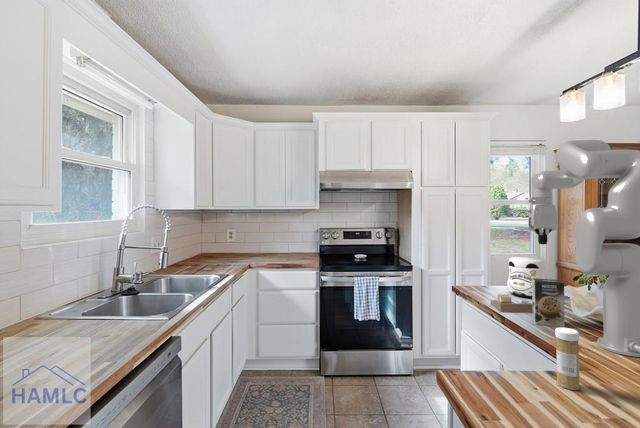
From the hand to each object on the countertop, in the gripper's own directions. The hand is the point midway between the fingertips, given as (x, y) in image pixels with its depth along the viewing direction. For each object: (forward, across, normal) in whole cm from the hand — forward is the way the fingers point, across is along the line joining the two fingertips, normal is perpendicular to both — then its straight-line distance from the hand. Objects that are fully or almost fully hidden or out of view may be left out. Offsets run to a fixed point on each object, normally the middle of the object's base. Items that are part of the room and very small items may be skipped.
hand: (542, 244), depth 144 cm
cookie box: (+27, -10, -23) cm, 37 cm away
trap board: (+27, -14, -4) cm, 31 cm away
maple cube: (+25, -18, -6) cm, 32 cm away
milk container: (+27, +2, +19) cm, 33 cm away
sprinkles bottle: (+27, -29, -69) cm, 80 cm away
